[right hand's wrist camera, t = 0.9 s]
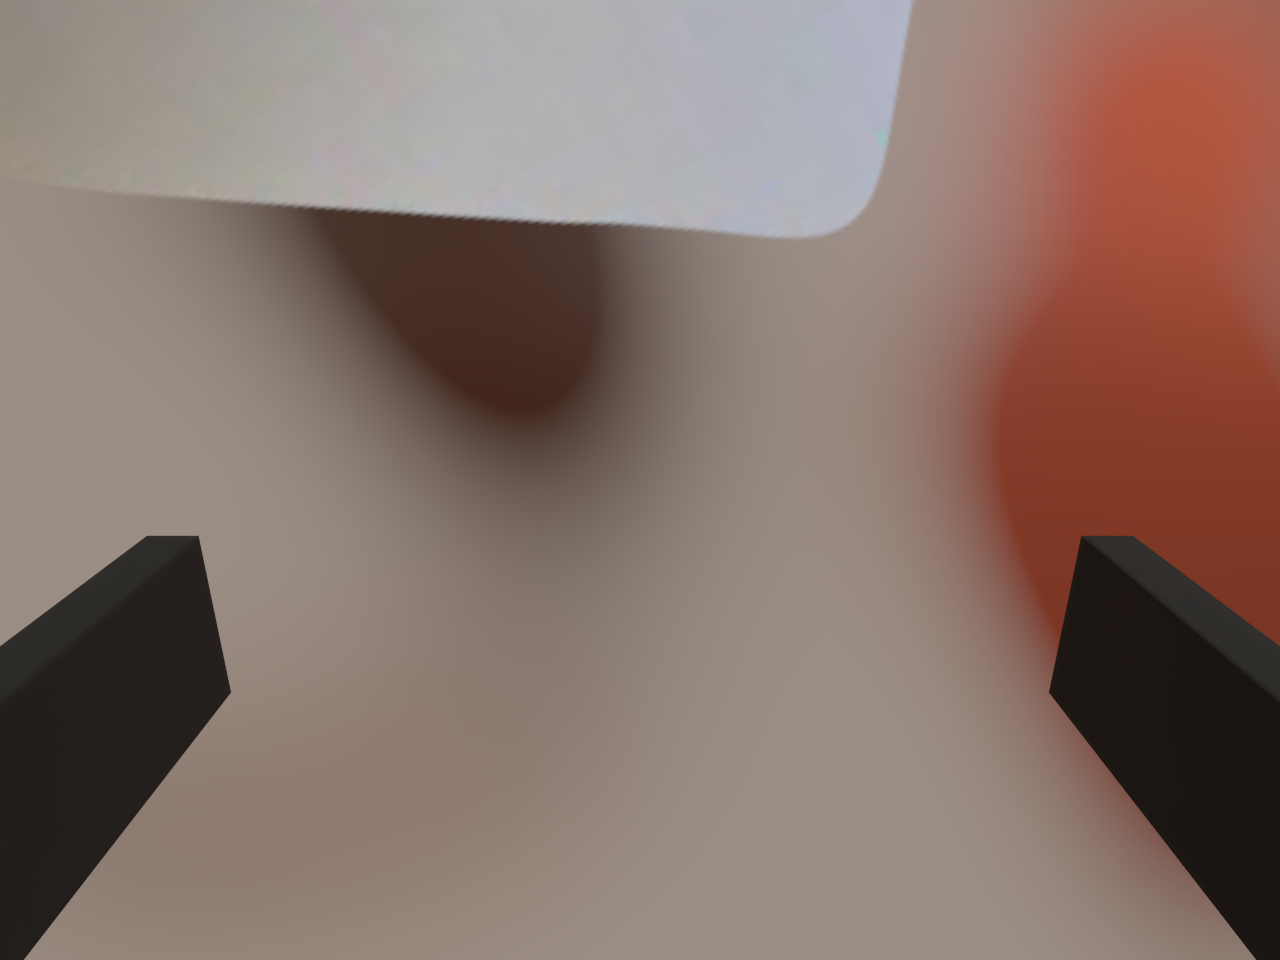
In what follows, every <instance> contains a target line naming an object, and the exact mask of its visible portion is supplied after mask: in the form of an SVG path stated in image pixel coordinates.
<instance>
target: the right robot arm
mask: <svg viewBox="0 0 1280 960" xmlns="http://www.w3.org/2000/svg"><path fill="white" fill-rule="evenodd" d="M230 693H231V690H230V686H229V681H228V676H227V671H226V666H225V661H224V657H223V652H222V647H221V642H220V637H219V632H218V628H217V623H216V618H215V613H214V609H213V604H212V599H211V594H210V589H209V584H208V579H207V575H206V570H205V565H204V560H203V555H202V550H201V546H200V541H199V536H146V537H145V538H144V539H142V540H141V541H140V542H138V543H137V544H136V545H134V546H133V547H132V548H130V549H129V550H128V551H126V552H125V553H124V554H122V555H121V556H120V557H118V558H117V559H116V560H114V561H113V562H112V563H110V564H109V565H108V566H106V567H105V568H104V569H102V570H101V571H100V572H98V573H97V574H96V575H94V576H93V577H92V578H90V579H89V580H88V581H86V582H85V583H84V584H82V585H81V586H80V587H79V588H77V589H76V590H74V591H73V592H72V593H70V594H69V595H68V596H67V597H65V598H64V599H63V600H61V601H60V602H59V603H57V604H56V605H55V606H53V607H52V608H51V609H49V610H48V611H47V612H45V613H44V614H43V615H41V616H40V617H39V618H37V619H36V620H35V621H33V622H32V623H31V624H29V625H28V626H27V627H25V628H24V629H23V630H21V631H20V632H19V633H17V634H16V635H15V636H13V637H12V638H11V639H9V640H8V641H7V642H5V643H4V644H3V645H1V646H0V960H24V959H25V957H26V956H27V955H28V954H29V952H30V951H31V950H32V948H33V947H34V946H35V945H36V943H37V942H38V941H39V939H40V938H41V937H42V936H43V934H44V933H45V932H46V930H47V929H48V928H49V926H50V925H51V924H52V923H53V921H54V920H55V919H56V917H57V916H58V915H59V914H60V912H61V911H62V910H63V908H64V907H65V906H66V905H67V903H68V902H69V901H70V899H71V898H72V897H73V895H74V894H75V893H76V892H77V890H78V889H79V888H80V887H81V885H82V884H83V883H84V881H85V880H86V879H87V877H88V876H89V875H90V874H91V872H92V871H93V870H94V868H95V867H96V866H97V865H98V863H99V862H100V861H101V859H102V858H103V857H104V856H105V854H106V853H107V852H108V850H109V849H110V848H111V846H112V845H113V844H114V843H115V841H116V840H117V839H118V838H119V836H120V835H121V834H122V832H123V831H124V830H125V828H126V827H127V826H128V825H129V823H130V822H131V821H132V819H133V818H134V817H135V816H136V814H137V813H138V812H139V810H140V809H141V808H142V807H143V805H144V804H145V803H146V801H147V800H148V799H149V798H150V796H151V795H152V794H153V792H154V791H155V790H156V788H157V787H158V786H159V785H160V783H161V782H162V781H163V779H164V778H165V777H166V776H167V774H168V773H169V772H170V770H171V769H172V768H173V766H174V765H175V764H176V763H177V761H178V760H179V759H180V758H181V756H182V755H183V754H184V752H185V751H186V750H187V748H188V747H189V746H190V745H191V743H192V742H193V741H194V739H195V738H196V737H197V736H198V734H199V733H200V732H201V730H202V729H203V728H204V727H205V725H206V724H207V723H208V721H209V720H210V719H211V718H212V716H213V715H214V714H215V712H216V711H217V710H218V708H219V707H220V706H221V705H222V703H223V702H224V701H225V699H226V698H227V697H228V696H229V694H230ZM1049 693H1050V694H1051V696H1052V697H1053V698H1054V699H1055V701H1056V702H1057V703H1058V705H1059V706H1060V707H1061V709H1062V710H1063V711H1064V712H1065V714H1066V715H1067V716H1068V717H1069V719H1070V720H1071V721H1072V723H1073V724H1074V725H1075V727H1076V728H1077V729H1078V730H1079V732H1080V733H1081V734H1082V736H1083V737H1084V738H1085V739H1086V741H1087V742H1088V743H1089V745H1090V746H1091V747H1092V749H1093V750H1094V751H1095V752H1096V754H1097V755H1098V756H1099V757H1100V759H1101V760H1102V761H1103V763H1104V764H1105V765H1106V767H1107V768H1108V769H1109V770H1110V772H1111V773H1112V774H1113V776H1114V777H1115V778H1116V779H1117V781H1118V782H1119V783H1120V785H1121V786H1122V787H1123V788H1124V790H1125V791H1126V792H1127V794H1128V795H1129V796H1130V798H1131V799H1132V800H1133V801H1134V803H1135V804H1136V805H1137V807H1138V808H1139V809H1140V810H1141V812H1142V813H1143V814H1144V815H1145V817H1146V818H1147V819H1148V821H1149V822H1150V823H1151V825H1152V826H1153V827H1154V828H1155V830H1156V831H1157V832H1158V834H1159V835H1160V836H1161V837H1162V839H1163V840H1164V841H1165V843H1166V844H1167V845H1168V846H1169V848H1170V849H1171V850H1172V852H1173V853H1174V854H1175V856H1176V857H1177V858H1178V859H1179V861H1180V862H1181V863H1182V865H1183V866H1184V867H1185V868H1186V870H1187V871H1188V872H1189V874H1190V875H1191V876H1192V877H1193V879H1194V880H1195V881H1196V883H1197V884H1198V885H1199V887H1200V888H1201V889H1202V890H1203V892H1204V893H1205V894H1206V896H1207V897H1208V898H1209V899H1210V901H1211V902H1212V903H1213V905H1214V906H1215V907H1216V908H1217V910H1218V911H1219V912H1220V914H1221V915H1222V916H1223V917H1224V919H1225V920H1226V921H1227V923H1228V924H1229V925H1230V926H1231V928H1232V929H1233V930H1234V932H1235V933H1236V934H1237V936H1238V937H1239V938H1240V939H1241V941H1242V942H1243V943H1244V945H1245V946H1246V947H1247V948H1248V950H1249V951H1250V952H1251V954H1252V955H1253V956H1254V957H1255V959H1256V960H1280V646H1279V645H1277V644H1276V643H1275V642H1273V641H1272V640H1271V639H1269V638H1268V637H1267V636H1265V635H1264V634H1263V633H1261V632H1260V631H1259V630H1257V629H1256V628H1255V627H1253V626H1252V625H1251V624H1249V623H1248V622H1247V621H1245V620H1244V619H1243V618H1241V617H1240V616H1239V615H1237V614H1236V613H1235V612H1233V611H1232V610H1231V609H1229V608H1228V607H1227V606H1225V605H1224V604H1223V603H1221V602H1220V601H1219V600H1217V599H1216V598H1215V597H1213V596H1212V595H1211V594H1209V593H1208V592H1207V591H1206V590H1204V589H1203V588H1202V587H1200V586H1199V585H1198V584H1196V583H1195V582H1194V581H1192V580H1191V579H1189V578H1188V577H1187V576H1186V575H1184V574H1183V573H1182V572H1180V571H1179V570H1178V569H1176V568H1175V567H1174V566H1172V565H1171V564H1170V563H1168V562H1167V561H1166V560H1164V559H1163V558H1162V557H1160V556H1159V555H1158V554H1156V553H1155V552H1154V551H1152V550H1151V549H1150V548H1148V547H1147V546H1146V545H1144V544H1143V543H1142V542H1140V541H1139V540H1138V539H1136V538H1135V537H1134V536H1081V541H1080V546H1079V550H1078V555H1077V560H1076V565H1075V570H1074V575H1073V579H1072V584H1071V589H1070V594H1069V599H1068V604H1067V609H1066V613H1065V618H1064V623H1063V628H1062V633H1061V637H1060V642H1059V647H1058V652H1057V657H1056V661H1055V666H1054V671H1053V676H1052V681H1051V686H1050V690H1049Z"/></svg>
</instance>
